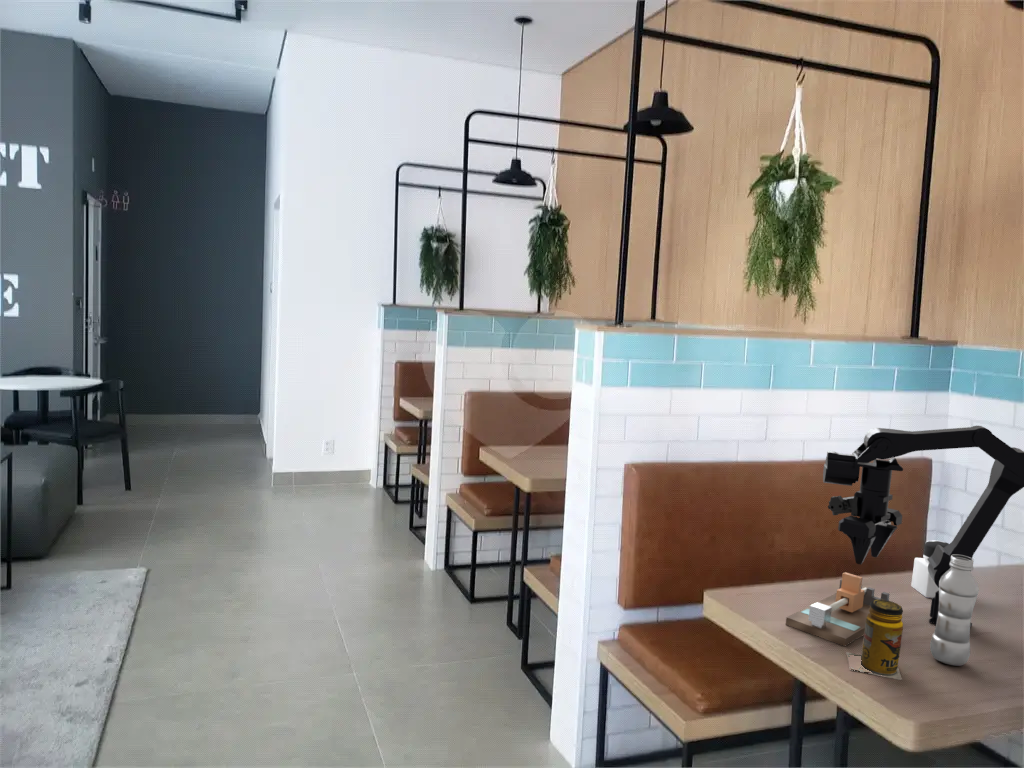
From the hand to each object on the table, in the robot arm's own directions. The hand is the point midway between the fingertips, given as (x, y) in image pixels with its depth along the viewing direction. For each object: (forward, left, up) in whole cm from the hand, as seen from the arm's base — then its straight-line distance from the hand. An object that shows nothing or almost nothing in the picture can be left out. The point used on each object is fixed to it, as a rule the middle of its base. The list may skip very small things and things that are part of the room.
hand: (866, 560), depth 168 cm
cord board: (0, +10, -11) cm, 15 cm away
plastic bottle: (-21, +12, -11) cm, 26 cm away
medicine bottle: (-6, -25, -11) cm, 28 cm away
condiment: (-13, +26, -11) cm, 31 cm away
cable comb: (0, 0, -9) cm, 9 cm away
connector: (0, +20, -9) cm, 22 cm away
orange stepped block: (0, +7, -9) cm, 11 cm away
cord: (0, +8, -8) cm, 11 cm away
